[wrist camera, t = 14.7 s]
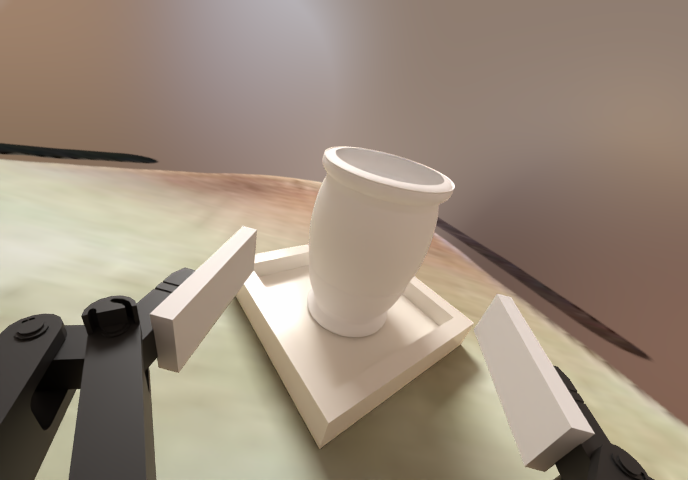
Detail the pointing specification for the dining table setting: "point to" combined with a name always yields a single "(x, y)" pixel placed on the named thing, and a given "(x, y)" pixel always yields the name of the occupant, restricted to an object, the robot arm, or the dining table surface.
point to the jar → (369, 235)
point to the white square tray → (343, 343)
